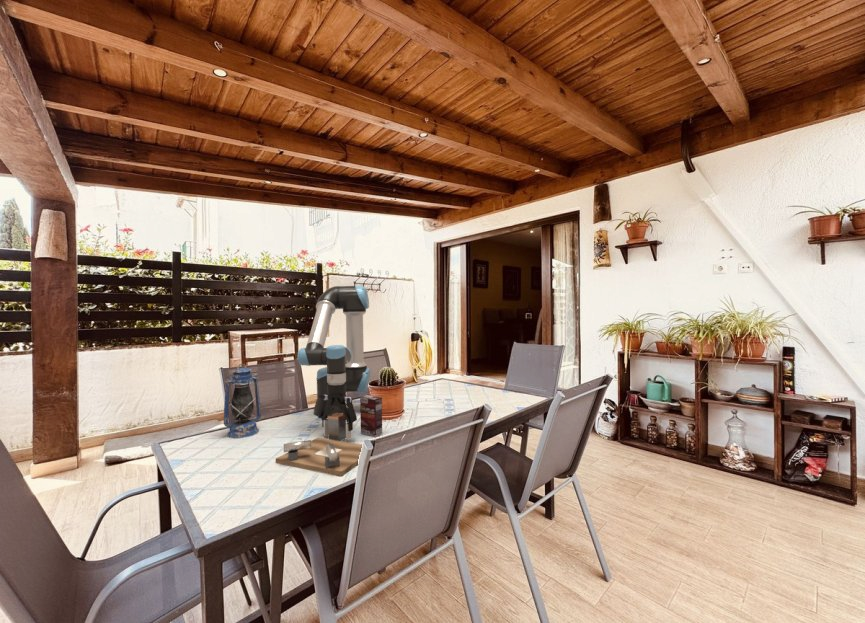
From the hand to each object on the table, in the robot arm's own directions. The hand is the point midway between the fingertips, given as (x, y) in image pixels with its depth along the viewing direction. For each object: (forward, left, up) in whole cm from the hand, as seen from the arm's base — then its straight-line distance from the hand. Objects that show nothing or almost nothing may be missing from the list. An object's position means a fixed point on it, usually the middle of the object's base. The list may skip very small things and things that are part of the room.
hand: (337, 436), depth 153 cm
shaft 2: (+23, +15, +1) cm, 28 cm away
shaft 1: (+23, +1, +1) cm, 23 cm away
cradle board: (+16, +8, -1) cm, 18 cm away
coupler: (0, 0, -1) cm, 1 cm away
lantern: (+9, -43, -1) cm, 44 cm away
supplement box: (-10, +10, -1) cm, 14 cm away
